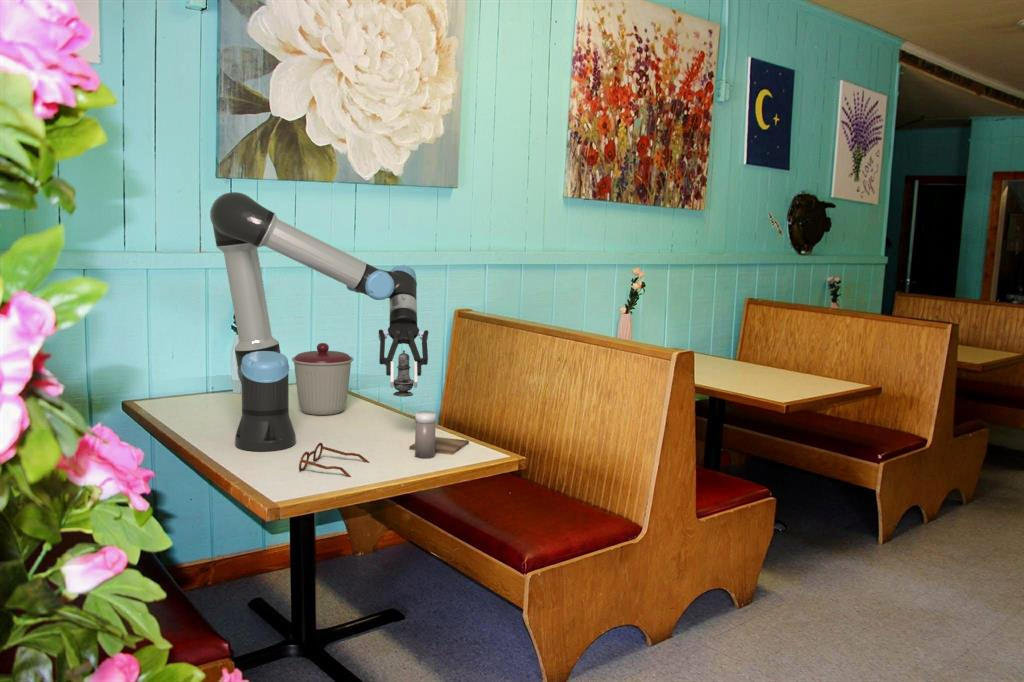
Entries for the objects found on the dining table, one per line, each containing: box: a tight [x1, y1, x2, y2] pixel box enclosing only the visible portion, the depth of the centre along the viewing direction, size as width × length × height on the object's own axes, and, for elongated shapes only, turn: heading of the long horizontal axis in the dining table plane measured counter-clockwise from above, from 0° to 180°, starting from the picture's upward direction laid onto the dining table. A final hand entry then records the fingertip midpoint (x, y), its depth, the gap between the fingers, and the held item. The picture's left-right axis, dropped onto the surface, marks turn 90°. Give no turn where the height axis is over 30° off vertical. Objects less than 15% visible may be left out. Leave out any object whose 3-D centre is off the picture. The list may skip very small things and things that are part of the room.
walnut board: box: [408, 436, 470, 455], centre depth 233 cm, size 12×12×1 cm
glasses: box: [298, 442, 370, 478], centre depth 211 cm, size 13×13×5 cm
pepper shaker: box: [414, 410, 437, 460], centre depth 223 cm, size 5×5×11 cm
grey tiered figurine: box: [392, 349, 414, 398], centre depth 234 cm, size 6×6×12 cm
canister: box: [291, 342, 354, 416], centre depth 267 cm, size 18×18×21 cm
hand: (403, 384), depth 231 cm, fingers closed on grey tiered figurine, 5 cm apart
